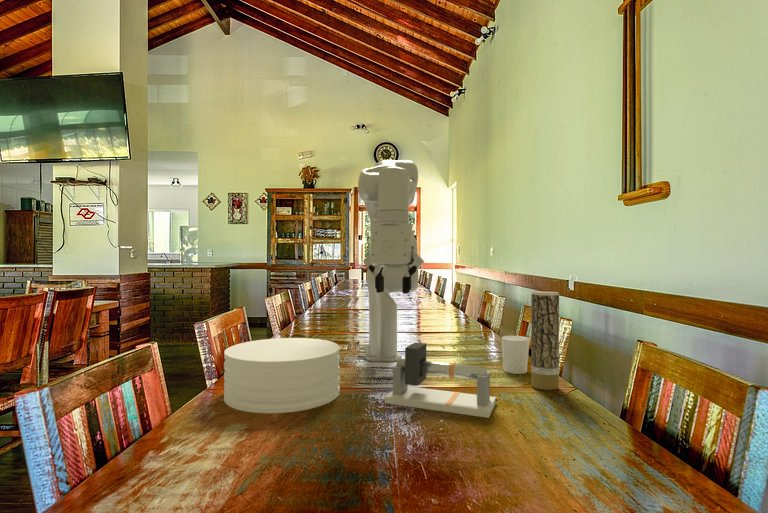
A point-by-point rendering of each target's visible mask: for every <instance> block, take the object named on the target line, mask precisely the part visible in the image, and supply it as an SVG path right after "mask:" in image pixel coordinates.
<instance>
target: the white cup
mask: <svg viewBox="0 0 768 513" xmlns="http://www.w3.org/2000/svg"><path fill="white" fill-rule="evenodd" d="M529 345H530V338H529V337H526V336H522V335H504V336H502V337H501V354H502V362H503V364H502V368H503V372H505V373H506V374H507V373H508V374H512V375H524V374H527V372H528V362H529V349H530V348H529V347H530V346H529Z"/></svg>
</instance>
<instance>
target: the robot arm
mask: <svg viewBox="0 0 768 513" xmlns="http://www.w3.org/2000/svg"><path fill="white" fill-rule="evenodd" d="M418 181H419V170H418V167H417V165H416V163H415V162H414V161H412V160H408V159H407V160H406V159H405V160H403V159H402V160H401V159H400V160H395V159H393V160H392V159H385V160H380V161H378V162H377V163H375V164H374V166H373V167H370V168H365V169H363V170H362V171H361V172H360V173H359V176H358V182H357V192H358V196H359V198H360V200H361V201H363V203H364V207H365V209H366V212H367V215H368V217H369V218H368V219H369V223H370V253H369V254H367V256H366V257H365V258H364V260H363V261H362V262H363V264H364V265H365V267H367V268H368V269H367V271H366V283H367V285H366V286H367V291H368V316H369V317H368V343H367V344H366V343H359V344H358V350H359V351H365V352H364V355H363V356H364V359H365V360H367V361H370V362H371V361H372V362H379V363H381V362H383V363H385V362H388V363H389V362H397V360H398V358H400V359H403V358H402V356H403V355H402V353H401V352H398V306H397V302H396V301H395V299H394V298H393V297H392V296H391V295H390V294H391V293H393V294H394V293H402V294H405V295H406V294H410V293H413V292H416V291H417V289H418V287H419V269H420V268H421V267H422V266H423V265H424V263H425V259H423V258H422V257H421V256H420V255H419V254H418V242H417V239H416V237H415V235H413V229H412V224H410V223H409V221H410V220H409V214H410V213H409V210H410V208H409V206H410V205H412V204H413V202H414V201H415V196H416V191H417V187H418V183H419V182H418Z"/></svg>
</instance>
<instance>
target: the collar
mask: <svg viewBox="0 0 768 513" xmlns="http://www.w3.org/2000/svg"><path fill="white" fill-rule="evenodd" d="M404 355H405V356H404V359H405V384H406V385H408V386H413V387H419V385H421V383H422V382H424V381H425V380H426V379H427V374H420V373H419V361H427V343H426V342H413V343H412V344H410V345H408V346H406V347H405V348H404Z"/></svg>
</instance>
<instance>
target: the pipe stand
mask: <svg viewBox="0 0 768 513" xmlns="http://www.w3.org/2000/svg"><path fill="white" fill-rule="evenodd" d="M490 384H491V371H489V370H487V373H486V374H485V375H477V380H476V394H475V393H465V392H460V394H459V395H458V396H457V398H456V399H455V400H454V401H453V403H452V404H451V405H450V406H449V405H445V404H446V402H447V401H448V400H449V399H450V398H451V396H452V395H453V394H454V393H455V392H456V391H449V390H442V389H434V388H424V387H419V386H411V385H406V384H405V372H403V370H402V367H400V366H396V364H395V365H393V366H392V390H391V391H390V392H388V394H386V395H385V396H384V404H388V405H396V406H403V407H408V408H409V407H410V408H418V409H424V410H430V411H438V412H444V413H451V414H460V415H465V416H473V417H481V418H487V419H489V418H490V416H491V414H492V412H493V410H494V408H495V405H496V404H497V398H496V397H497V396H491V390H490V389H491V385H490Z"/></svg>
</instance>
